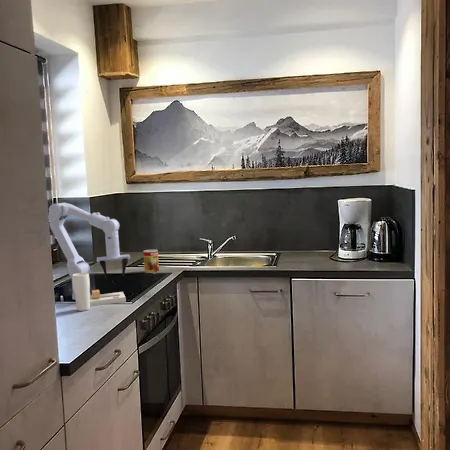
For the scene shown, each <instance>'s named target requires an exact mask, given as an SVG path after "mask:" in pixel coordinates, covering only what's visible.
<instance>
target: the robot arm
mask: <svg viewBox="0 0 450 450" xmlns="http://www.w3.org/2000/svg"><path fill="white" fill-rule="evenodd" d="M48 210H49V215H48V218H49V219H48V221H50V223H49V228H50V230H51V232H52V234H53V235H54V237H55V239H56V241H57V243H58V245H59V247H60V248H61V250H62V252H63V255H64V257H65V258H66V260H67V262H66V263H67V264H66V267H67V271H68V272H67V273H68V275H69V277H70V278H71V279H72V275H73V274H76V273H89V272H90V270H91V267H90V265H89V263H88V262H86V261H85V260H84V258H83V257H82V256H80V255H79V253H78V251H77V249H76V248H75V245H74V243H73V241H72V239H71V237H70V236H69V233H68V231H67V230H66V227H65V226H64V223H65V221H66V219H67V218H68V216H74V217H77V218H79V219H83V220H86V221H87V222H88V224H89V225H91V226H93V227H95V228H97V229H99V230H102V231H103V233H104V238H105V250H106V251H105V252H106V256H105V255H103V256H97V257H96V263H99V264H100V267H101V268H102V270H103V273H104V277H105V279H108V274H107V263H106V262H111V261H112V262H113V261H121V272H122V276H123V277H124V276H125V275H126V268H127V265H128V262H129V260H131V254H120V253H121V252H120V240H119V230H120V225H121V224H120V222H119V221H118V220H117V219H115V218H110V217H109V216H104V215H102V214H101V213H100V212H99V211H98V212H92V213H91V212H88V211H86V210H84V209H81V208H79V207H77V206H75V205H74V204H73V203H72V204H71V203H68V202H60V203H59V202H58V203H52V204H51V205H50V206H49V207H48ZM89 274H90V273H89ZM71 286H72V287H71V288H72V294H71V297H72V298H71V299H72V300H73V301H74V300H75V294H74V289H73V281H72V280H71ZM90 296H92V294H90Z"/></svg>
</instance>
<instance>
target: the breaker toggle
mask: <svg viewBox="0 0 450 450" xmlns="http://www.w3.org/2000/svg"><path fill="white" fill-rule="evenodd" d="M100 294H101V293H100V289H92V290H91V296H92V297H93V299H94V298H100Z"/></svg>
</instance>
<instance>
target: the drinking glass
mask: <svg viewBox="0 0 450 450" xmlns="http://www.w3.org/2000/svg"><path fill="white" fill-rule="evenodd" d="M72 281H73V289H74V294H75V299H74V300H75V306H76V311H78V312H86V311H89V310H90V309H91V306H90V295H91V292H90V291H91V282H90V273H76V274H73V275H72V278H71V282H72ZM73 289H72V290H73Z"/></svg>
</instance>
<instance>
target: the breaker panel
mask: <svg viewBox="0 0 450 450" xmlns="http://www.w3.org/2000/svg"><path fill="white" fill-rule="evenodd" d="M117 303H118V304H119V303H127V298H126V296H125V294H124V291H119V292H112V293H111V292H110V293H109V292H108V293H104V294H101V293H100V298H94V299H93V297H92V295H91V296H90V307H95V306H102V305H109V304H110V305H111V304H117Z"/></svg>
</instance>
